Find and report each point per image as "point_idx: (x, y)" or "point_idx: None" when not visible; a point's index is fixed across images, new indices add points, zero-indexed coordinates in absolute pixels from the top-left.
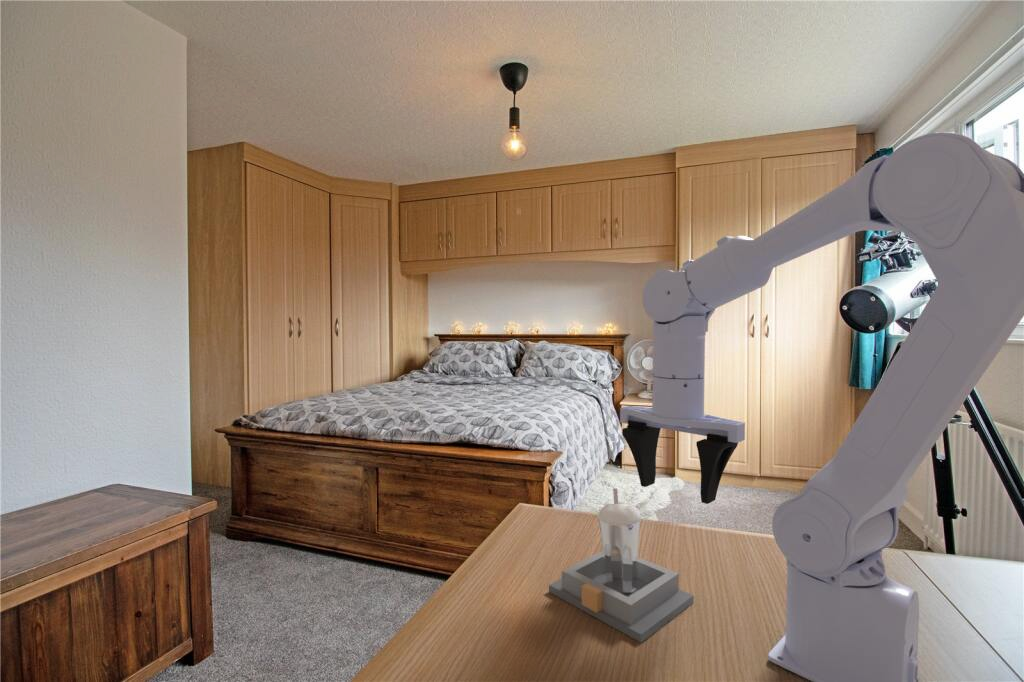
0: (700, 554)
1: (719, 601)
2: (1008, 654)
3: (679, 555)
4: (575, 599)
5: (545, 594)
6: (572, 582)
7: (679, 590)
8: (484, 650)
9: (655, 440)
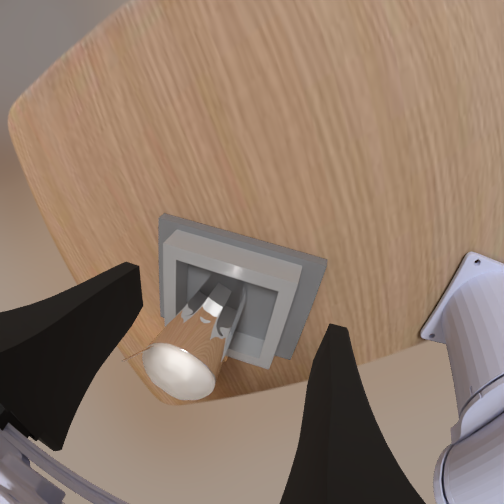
0: (290, 69)
1: (363, 236)
2: None
3: (254, 101)
4: None
5: None
6: None
7: (303, 263)
8: None
9: (37, 352)
